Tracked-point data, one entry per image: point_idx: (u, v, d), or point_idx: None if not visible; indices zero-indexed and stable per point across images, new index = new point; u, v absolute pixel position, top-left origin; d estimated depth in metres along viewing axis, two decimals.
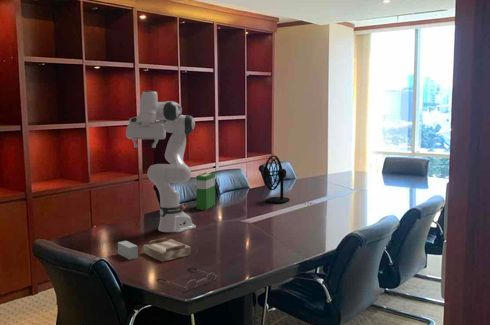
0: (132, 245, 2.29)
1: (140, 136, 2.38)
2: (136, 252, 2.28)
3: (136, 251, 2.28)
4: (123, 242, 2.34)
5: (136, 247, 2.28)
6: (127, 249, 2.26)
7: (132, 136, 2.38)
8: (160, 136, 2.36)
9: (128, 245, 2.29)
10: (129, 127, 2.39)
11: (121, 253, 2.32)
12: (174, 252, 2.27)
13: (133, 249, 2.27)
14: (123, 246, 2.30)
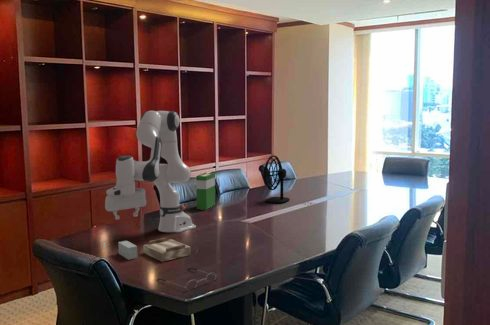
0: (132, 245, 2.29)
1: (124, 208, 2.26)
2: (135, 252, 2.28)
3: (135, 251, 2.28)
4: (123, 242, 2.34)
5: (135, 247, 2.27)
6: (126, 249, 2.26)
7: (115, 209, 2.23)
8: (143, 205, 2.33)
9: (128, 245, 2.29)
10: (112, 200, 2.21)
11: (121, 253, 2.32)
12: (174, 252, 2.27)
13: (132, 250, 2.26)
14: (123, 246, 2.30)
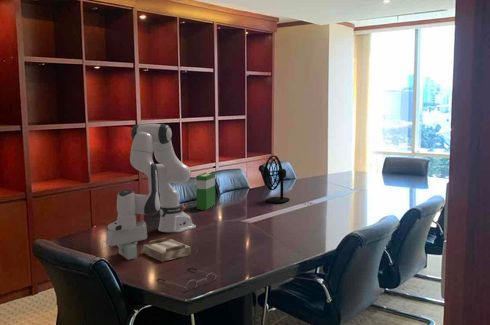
0: (131, 245, 2.28)
1: (125, 242, 2.28)
2: (135, 252, 2.27)
3: (135, 251, 2.27)
4: None
5: (135, 247, 2.27)
6: (126, 249, 2.26)
7: (116, 244, 2.25)
8: (144, 238, 2.35)
9: (128, 245, 2.29)
10: (113, 235, 2.23)
11: (121, 253, 2.32)
12: (174, 252, 2.27)
13: (132, 249, 2.26)
14: (123, 246, 2.30)
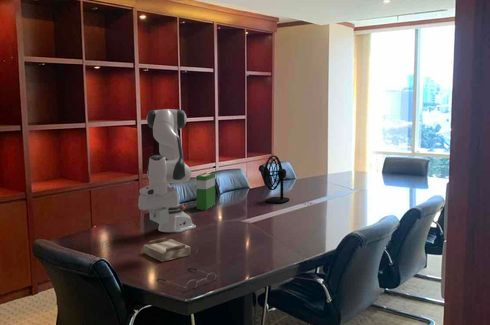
0: (163, 210, 2.29)
1: (156, 207, 2.29)
2: (167, 217, 2.28)
3: (167, 216, 2.28)
4: None
5: (167, 212, 2.28)
6: (158, 213, 2.27)
7: (148, 208, 2.26)
8: (175, 204, 2.35)
9: (159, 210, 2.29)
10: (145, 200, 2.24)
11: (152, 218, 2.33)
12: (174, 252, 2.27)
13: (164, 214, 2.27)
14: (154, 211, 2.30)
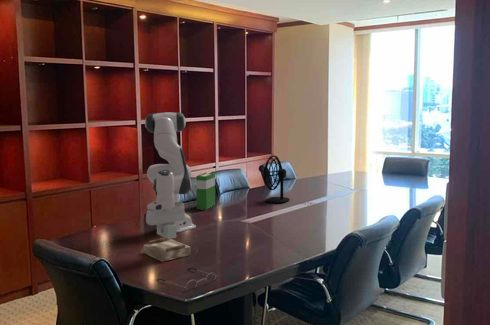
0: (171, 224, 2.30)
1: (164, 222, 2.30)
2: (175, 231, 2.29)
3: (175, 230, 2.29)
4: None
5: (175, 226, 2.29)
6: (166, 228, 2.28)
7: (156, 223, 2.27)
8: (182, 218, 2.36)
9: (167, 224, 2.30)
10: (153, 215, 2.25)
11: (160, 233, 2.34)
12: (174, 252, 2.27)
13: (171, 229, 2.28)
14: (162, 225, 2.31)
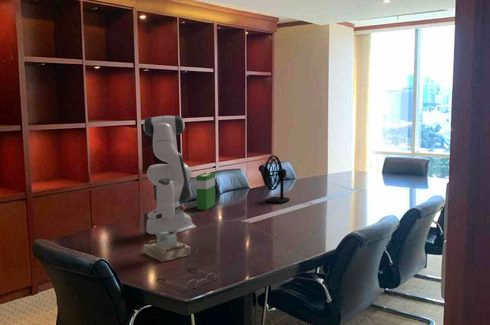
0: (171, 235, 2.31)
1: (164, 230, 2.30)
2: (175, 242, 2.30)
3: (175, 241, 2.30)
4: (162, 232, 2.36)
5: (175, 237, 2.30)
6: (166, 239, 2.29)
7: (156, 232, 2.28)
8: (182, 227, 2.37)
9: (167, 235, 2.31)
10: (153, 224, 2.26)
11: (160, 243, 2.34)
12: (174, 252, 2.27)
13: (172, 239, 2.29)
14: (162, 236, 2.32)
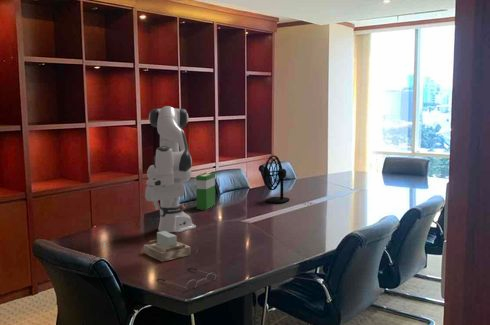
0: (171, 235, 2.31)
1: (163, 198, 2.29)
2: (175, 242, 2.30)
3: (175, 241, 2.30)
4: (162, 232, 2.36)
5: (175, 237, 2.30)
6: (166, 239, 2.29)
7: (155, 199, 2.26)
8: (181, 195, 2.35)
9: (167, 235, 2.31)
10: (152, 191, 2.24)
11: (160, 243, 2.34)
12: (174, 252, 2.27)
13: (172, 239, 2.29)
14: (162, 236, 2.32)
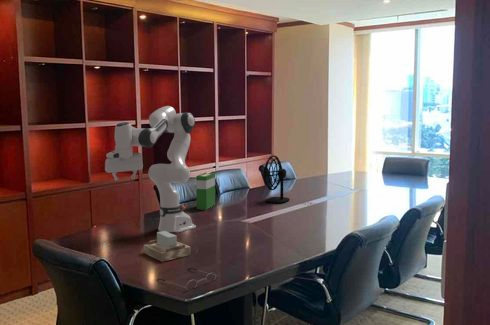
0: (171, 235, 2.31)
1: (122, 170, 2.47)
2: (175, 242, 2.30)
3: (175, 241, 2.30)
4: (162, 232, 2.36)
5: (175, 237, 2.30)
6: (166, 239, 2.29)
7: (114, 171, 2.44)
8: (140, 168, 2.53)
9: (167, 235, 2.31)
10: (111, 162, 2.42)
11: (160, 243, 2.34)
12: (174, 252, 2.27)
13: (172, 239, 2.29)
14: (162, 236, 2.32)
